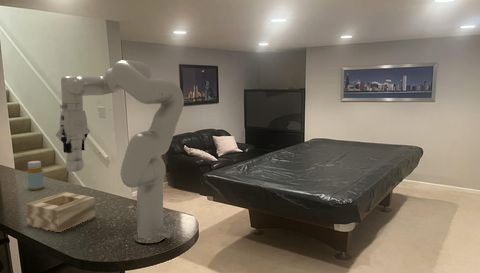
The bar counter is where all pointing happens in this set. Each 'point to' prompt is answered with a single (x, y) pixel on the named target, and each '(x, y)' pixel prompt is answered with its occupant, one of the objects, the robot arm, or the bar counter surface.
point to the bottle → (35, 175)
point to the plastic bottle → (75, 154)
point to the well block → (60, 211)
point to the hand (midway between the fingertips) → (74, 150)
